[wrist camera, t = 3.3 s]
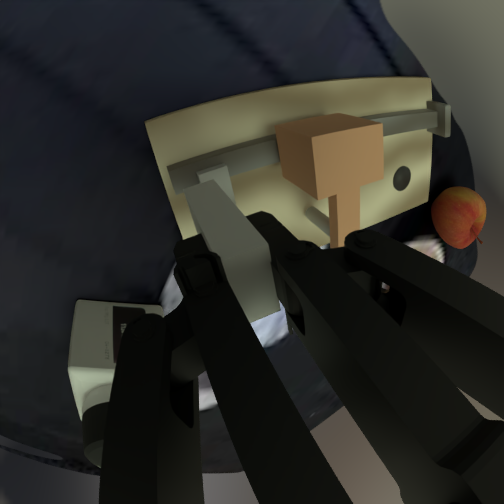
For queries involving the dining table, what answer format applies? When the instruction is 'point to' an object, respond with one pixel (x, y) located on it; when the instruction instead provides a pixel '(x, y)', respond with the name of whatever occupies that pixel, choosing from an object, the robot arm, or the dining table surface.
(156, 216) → the dining table surface
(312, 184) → the block
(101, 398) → the container
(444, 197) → the apple
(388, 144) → the board
